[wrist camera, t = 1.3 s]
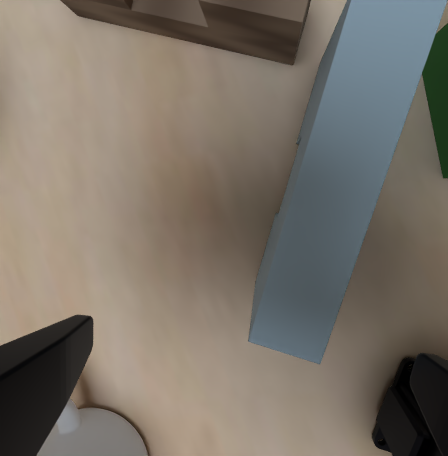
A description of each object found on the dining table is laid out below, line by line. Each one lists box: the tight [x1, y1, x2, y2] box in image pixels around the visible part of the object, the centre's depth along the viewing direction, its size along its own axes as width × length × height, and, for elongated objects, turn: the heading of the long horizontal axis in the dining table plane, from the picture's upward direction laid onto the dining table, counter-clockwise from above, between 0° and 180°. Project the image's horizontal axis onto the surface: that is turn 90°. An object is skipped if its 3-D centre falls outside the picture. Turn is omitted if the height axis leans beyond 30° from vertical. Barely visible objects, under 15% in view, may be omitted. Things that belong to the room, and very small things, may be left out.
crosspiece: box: [248, 0, 447, 364], centre depth 15 cm, size 14×3×8 cm, turn 165°
